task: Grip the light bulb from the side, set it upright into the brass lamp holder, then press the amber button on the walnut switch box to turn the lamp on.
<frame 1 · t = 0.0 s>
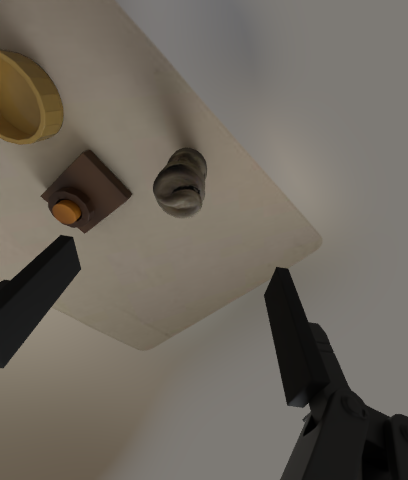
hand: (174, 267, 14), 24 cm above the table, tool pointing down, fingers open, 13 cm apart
light bulb: (192, 159, 34), on the table
lamp button: (67, 211, 35), point 4 cm above the table, slide at 0.1 cm
lamp holder: (25, 99, 30), on the table
switch box: (90, 192, 38), on the table
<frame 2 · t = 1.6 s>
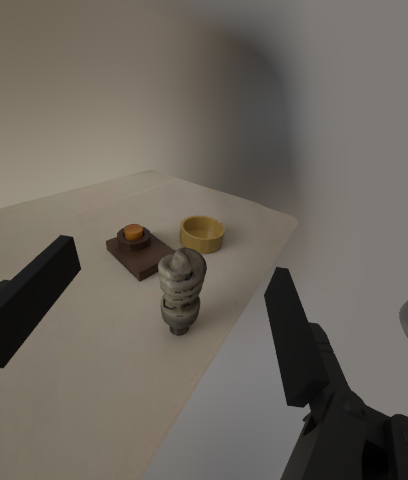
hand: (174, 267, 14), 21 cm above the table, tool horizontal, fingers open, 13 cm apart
light bulb: (176, 331, 33), on the table
lamp button: (133, 232, 44), point 4 cm above the table, slide at 0.1 cm
lamp holder: (200, 240, 53), on the table
switch box: (141, 255, 46), on the table
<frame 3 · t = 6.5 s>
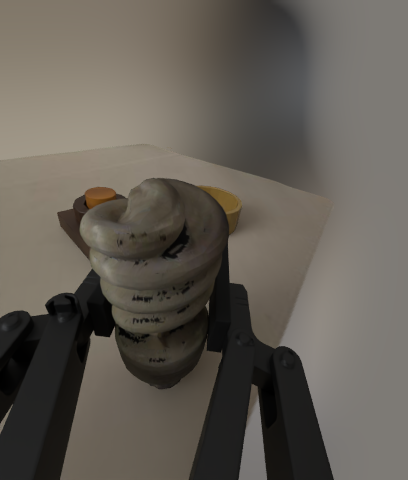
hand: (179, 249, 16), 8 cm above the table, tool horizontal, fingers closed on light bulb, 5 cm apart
light bulb: (160, 376, 16), on the table, touching gripper
lamp button: (101, 198, 28), point 4 cm above the table, slide at 0.1 cm
lamp holder: (206, 220, 36), on the table
switch box: (114, 236, 29), on the table
when the fingers open (8 cm above the table, at t = 15.4 s): light bulb stays where it is, resting on lamp holder.
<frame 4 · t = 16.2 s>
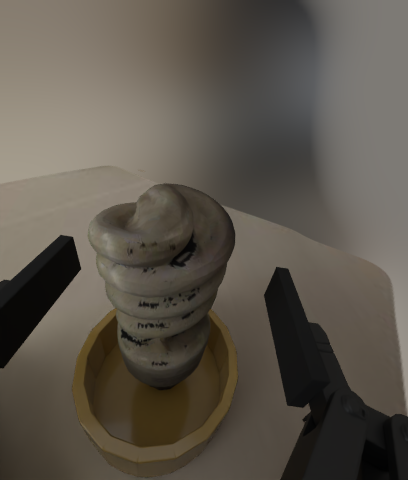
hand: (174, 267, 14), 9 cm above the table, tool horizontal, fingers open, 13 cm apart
light bulb: (159, 377, 16), resting on lamp holder
lamp holder: (160, 379, 17), on the table
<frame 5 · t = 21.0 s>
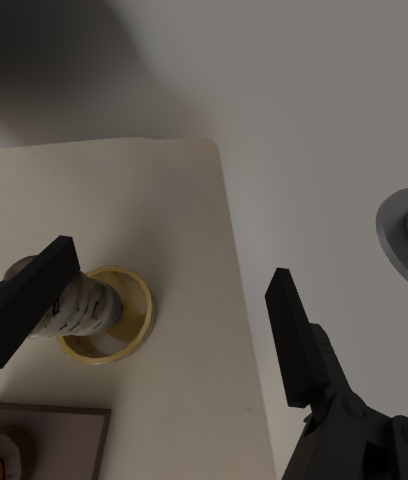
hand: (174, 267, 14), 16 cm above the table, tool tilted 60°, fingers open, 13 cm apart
light bulb: (113, 315, 27), resting on lamp holder, touching gripper
lamp holder: (115, 315, 27), on the table
switch box: (37, 462, 21), on the table
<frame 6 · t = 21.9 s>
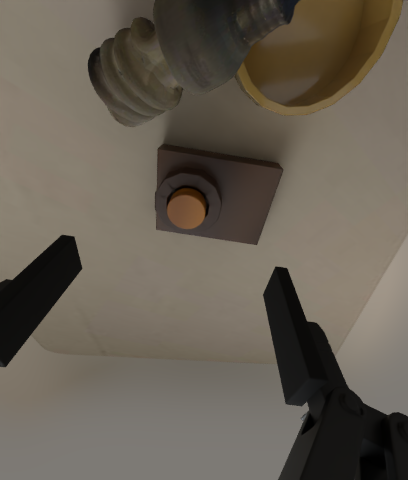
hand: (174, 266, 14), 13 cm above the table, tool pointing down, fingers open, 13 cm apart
lamp button: (187, 208, 21), point 4 cm above the table, slide at 0.1 cm
lamp holder: (294, 35, 17), on the table
switch box: (213, 194, 25), on the table
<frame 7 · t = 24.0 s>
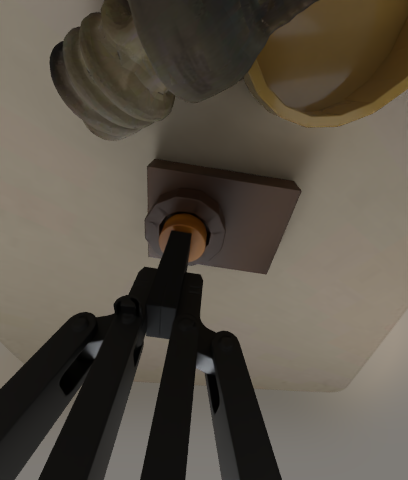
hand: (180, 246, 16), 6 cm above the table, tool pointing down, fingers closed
lamp button: (183, 238, 17), point 4 cm above the table, slide at 0.1 cm, touching gripper
lamp holder: (320, 23, 13), on the table
switch box: (215, 216, 21), on the table
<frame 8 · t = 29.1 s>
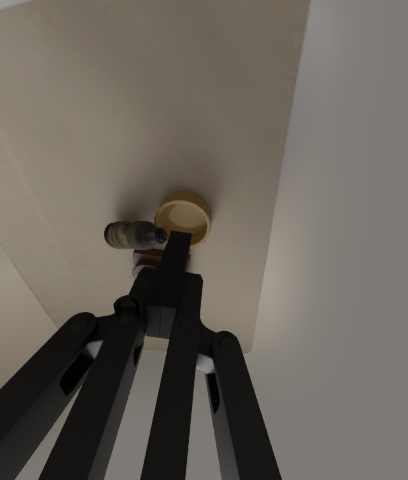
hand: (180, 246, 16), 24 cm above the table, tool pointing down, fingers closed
light bulb: (167, 236, 35), point 8 cm above the table, touching lamp holder
lamp holder: (185, 215, 42), on the table
switch box: (162, 265, 50), on the table
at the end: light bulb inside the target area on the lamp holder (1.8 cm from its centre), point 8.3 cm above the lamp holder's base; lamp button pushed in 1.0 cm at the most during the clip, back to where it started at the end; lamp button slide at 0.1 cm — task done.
